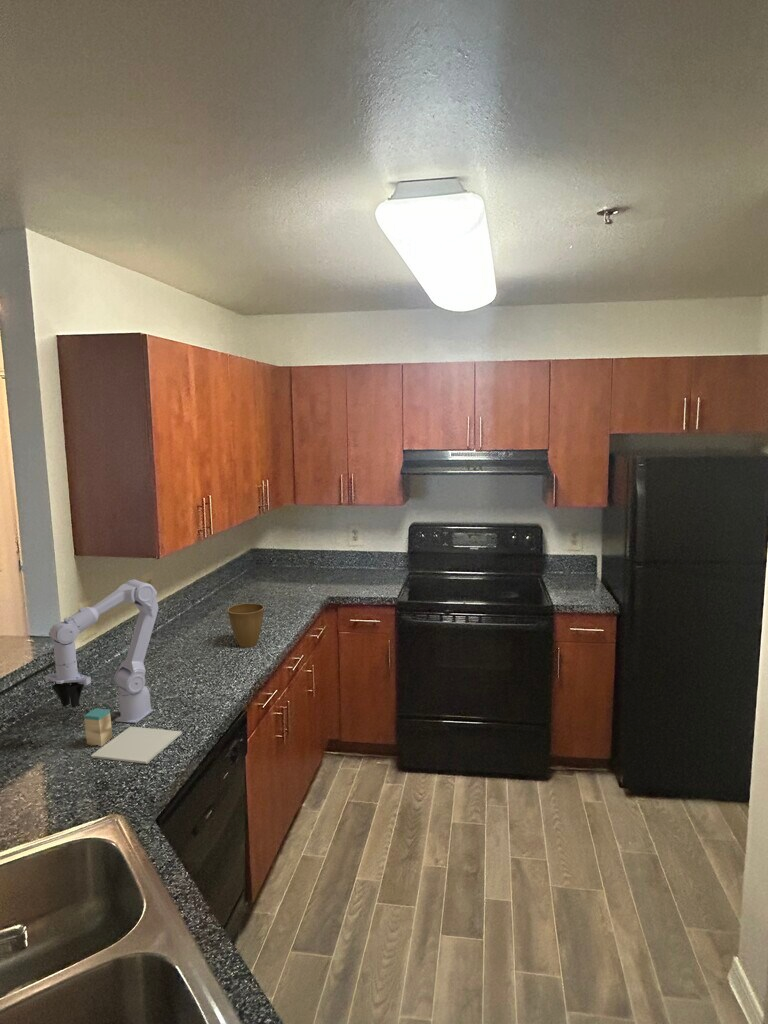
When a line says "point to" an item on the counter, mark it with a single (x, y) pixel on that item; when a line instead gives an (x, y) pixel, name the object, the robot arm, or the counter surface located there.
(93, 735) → the wooden block
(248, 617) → the plant pot
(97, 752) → the board
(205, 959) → the counter surface
